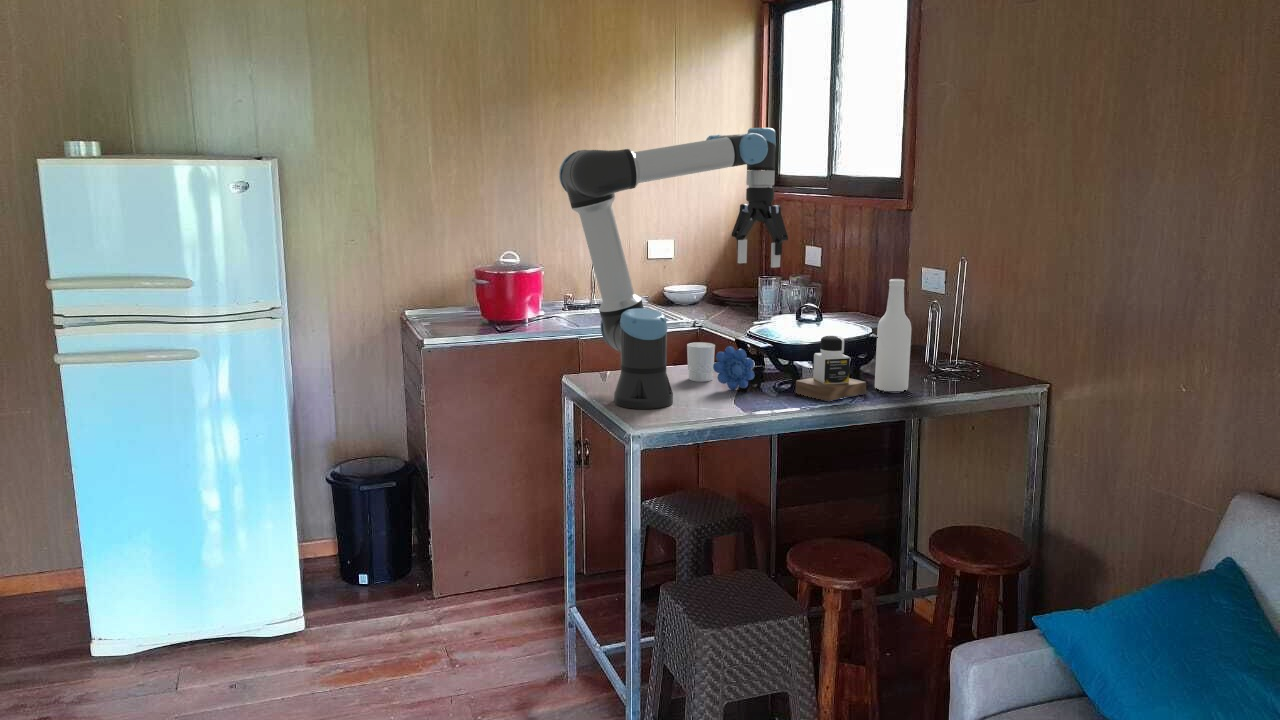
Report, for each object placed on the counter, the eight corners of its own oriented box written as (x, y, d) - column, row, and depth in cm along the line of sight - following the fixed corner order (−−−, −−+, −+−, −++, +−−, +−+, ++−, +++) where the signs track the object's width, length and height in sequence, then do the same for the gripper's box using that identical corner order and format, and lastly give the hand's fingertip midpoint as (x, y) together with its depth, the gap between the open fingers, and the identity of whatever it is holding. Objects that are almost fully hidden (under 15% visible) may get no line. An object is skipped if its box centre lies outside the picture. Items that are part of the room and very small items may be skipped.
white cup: (715, 382, 267) (715, 347, 265) (687, 382, 267) (687, 347, 265) (713, 376, 274) (714, 342, 272) (686, 376, 274) (686, 342, 272)
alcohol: (909, 394, 253) (916, 281, 247) (875, 393, 254) (881, 281, 248) (906, 387, 261) (912, 278, 255) (873, 385, 262) (878, 277, 256)
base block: (828, 402, 244) (828, 388, 243) (795, 393, 254) (795, 380, 253) (865, 394, 252) (866, 382, 251) (832, 386, 262) (832, 374, 261)
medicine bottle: (824, 384, 248) (826, 339, 245) (812, 379, 255) (814, 335, 252) (849, 383, 250) (851, 338, 247) (837, 377, 256) (839, 333, 254)
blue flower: (717, 394, 253) (717, 349, 250) (710, 388, 259) (711, 345, 257) (759, 392, 255) (760, 348, 253) (751, 386, 261) (752, 343, 259)
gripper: (803, 187, 249) (800, 268, 253) (740, 185, 269) (739, 260, 273) (782, 187, 245) (779, 269, 249) (720, 186, 265) (718, 262, 269)
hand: (758, 265), depth 261 cm, fingers open, 13 cm apart
